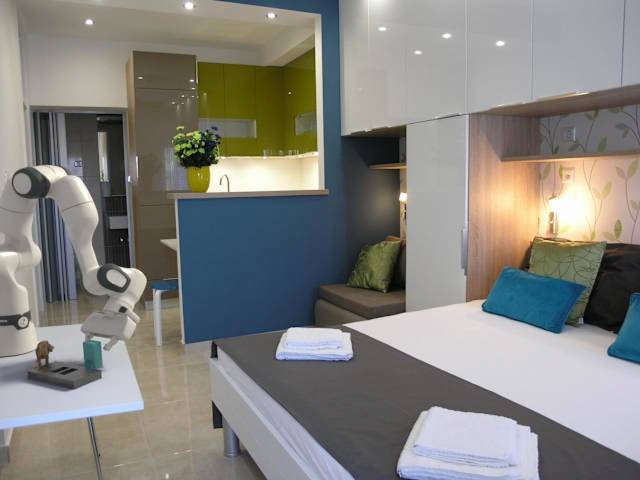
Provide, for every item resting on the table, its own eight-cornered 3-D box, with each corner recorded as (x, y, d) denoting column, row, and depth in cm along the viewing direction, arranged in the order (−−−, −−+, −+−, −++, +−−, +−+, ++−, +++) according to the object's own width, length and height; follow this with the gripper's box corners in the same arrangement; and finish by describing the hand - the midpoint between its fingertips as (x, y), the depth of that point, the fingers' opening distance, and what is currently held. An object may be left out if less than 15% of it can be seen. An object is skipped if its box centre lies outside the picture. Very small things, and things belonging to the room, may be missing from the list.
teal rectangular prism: (84, 367, 184) (82, 342, 183) (92, 364, 186) (90, 339, 185) (95, 369, 181) (93, 344, 180) (102, 366, 184) (101, 341, 183)
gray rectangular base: (28, 378, 174) (27, 370, 174) (56, 368, 183) (55, 361, 183) (74, 389, 165) (73, 381, 165) (101, 377, 174) (101, 370, 173)
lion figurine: (56, 367, 185) (54, 340, 184) (39, 370, 182) (36, 343, 180) (48, 356, 196) (45, 331, 195) (31, 359, 193) (28, 333, 192)
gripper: (89, 304, 194) (67, 339, 187) (133, 309, 185) (111, 347, 177) (100, 314, 198) (79, 349, 191) (143, 319, 189) (123, 356, 182)
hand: (95, 348), depth 184 cm, fingers open, 8 cm apart
